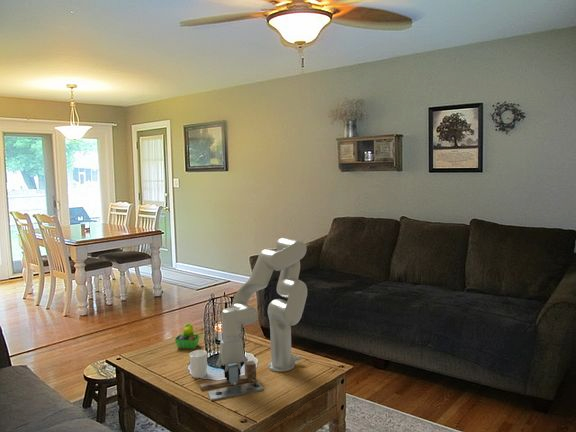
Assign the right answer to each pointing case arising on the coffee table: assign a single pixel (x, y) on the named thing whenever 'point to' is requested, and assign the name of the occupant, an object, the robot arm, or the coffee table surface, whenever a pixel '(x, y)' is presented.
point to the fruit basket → (187, 338)
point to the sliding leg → (233, 374)
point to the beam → (249, 376)
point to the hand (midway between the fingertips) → (232, 377)
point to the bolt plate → (235, 391)
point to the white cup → (198, 363)
